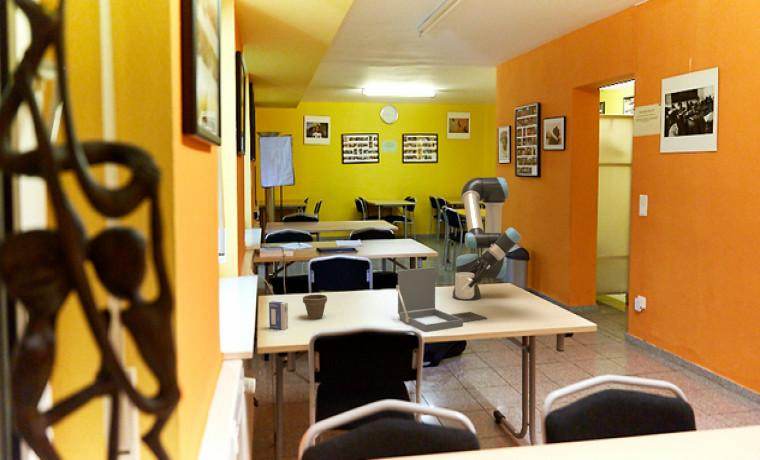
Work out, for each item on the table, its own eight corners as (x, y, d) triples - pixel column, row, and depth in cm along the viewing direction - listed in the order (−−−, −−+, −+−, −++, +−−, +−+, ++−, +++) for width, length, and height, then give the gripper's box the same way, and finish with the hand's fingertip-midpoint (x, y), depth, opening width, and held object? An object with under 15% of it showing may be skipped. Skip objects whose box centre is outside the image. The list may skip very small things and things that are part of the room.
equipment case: (396, 319, 274) (396, 270, 271) (433, 314, 283) (433, 267, 281) (423, 332, 253) (423, 279, 250) (462, 326, 262) (463, 275, 260)
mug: (452, 295, 280) (452, 272, 279) (469, 294, 283) (469, 271, 281) (461, 301, 269) (462, 277, 268) (480, 300, 271) (480, 276, 270)
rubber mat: (444, 316, 279) (444, 315, 279) (470, 312, 286) (470, 311, 286) (460, 323, 267) (460, 321, 267) (487, 318, 274) (487, 317, 274)
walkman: (269, 328, 259) (268, 301, 258) (272, 327, 262) (272, 300, 261) (285, 330, 257) (284, 303, 255) (288, 328, 259) (287, 301, 258)
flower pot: (298, 317, 279) (298, 296, 278) (319, 313, 286) (318, 292, 285) (311, 322, 270) (310, 300, 269) (331, 318, 277) (331, 297, 276)
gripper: (480, 246, 286) (449, 278, 286) (495, 253, 262) (461, 288, 262) (491, 257, 287) (460, 289, 287) (506, 265, 263) (472, 299, 264)
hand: (460, 288), depth 275 cm, fingers closed on mug, 12 cm apart
